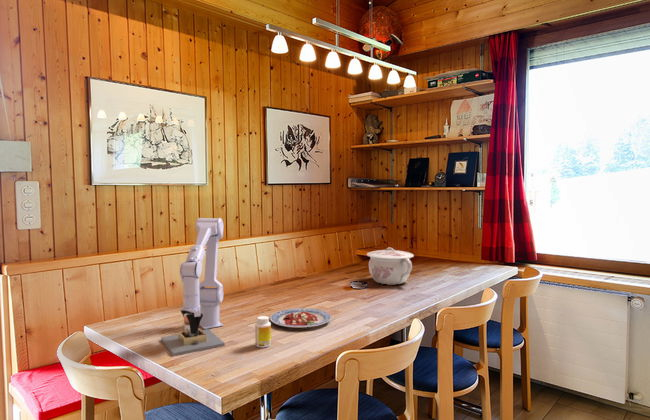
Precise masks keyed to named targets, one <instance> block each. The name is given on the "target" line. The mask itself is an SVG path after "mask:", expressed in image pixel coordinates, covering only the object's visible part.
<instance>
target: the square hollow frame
mask: <svg viewBox="0 0 650 420" xmlns="http://www.w3.org/2000/svg"><path fill="white" fill-rule="evenodd" d="M202 330H203V329H202V328H200V327H199V335H198V336H193V337H188V338H185V336H184V331H178V332H177V335H178V340H179V341H180V342H181V343H182V344H183V345H184V346H186V345H191V344H194V345H197V344H198V343H201V342H207V335H206V334H205V333H204V332H203V331H202Z"/></svg>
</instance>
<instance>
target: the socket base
mask: <svg viewBox="0 0 650 420" xmlns="http://www.w3.org/2000/svg"><path fill="white" fill-rule="evenodd" d="M201 330H202V331H203V332H204V333H205V334H206V335H207V342H201V343H198V344H197V345H194V344H191V345H186V346H184V345H183V344H182V343H181V342H180V341H179V340H178V334H172V335H168V336H163V337H160V340H161V342H162V343H163V344H164V346H165V347H166V349H167V350H168V351H169V353H170V354H171V355H172V356H173V357H176V356H181V355H186V354H190V353H194V352H195V353H196V352H201V351H204V350H205V351H207V350H210V349H214V348H215V349H216V348H220V347H224V346H225V344H226V343H225V342H224V341H223V340H222V339H221V338H220V337H219V336H217V334H215V333H214V332H213V331H212V330H211V329H210V328H208V329H201Z"/></svg>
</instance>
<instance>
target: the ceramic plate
mask: <svg viewBox="0 0 650 420" xmlns="http://www.w3.org/2000/svg"><path fill="white" fill-rule="evenodd" d="M269 319H270V322H272V323H273V324H275V325H277V326H281V327H287V328H292V329H305V328H306V329H307V327H308V328H312V327H313V328H314V327H318V326H323V325H325V324H327V323H329V322H330V321H331V320H332V315H331V314H330V313H329V312H327V311H325V310H321V309H316V308H307V307H306V308H305V307H304V308H302V307H301V308H300V307H297V308H296V307H295V308H287V309H282V310H278V311H276V312H274V313H273V314H271V315H270V317H269Z"/></svg>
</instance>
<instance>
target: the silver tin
mask: <svg viewBox="0 0 650 420" xmlns="http://www.w3.org/2000/svg"><path fill="white" fill-rule="evenodd" d="M190 314H192V312H186V313H184V317H183V325H184V326H183V327H184V329H183V330H184V336H185V338H188V337H193V336H198V335H199V328H200V327H199V328H198V332H197V333H195V334H191V331H190V325H189V321H188V319H187V317H186V315H190Z"/></svg>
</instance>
